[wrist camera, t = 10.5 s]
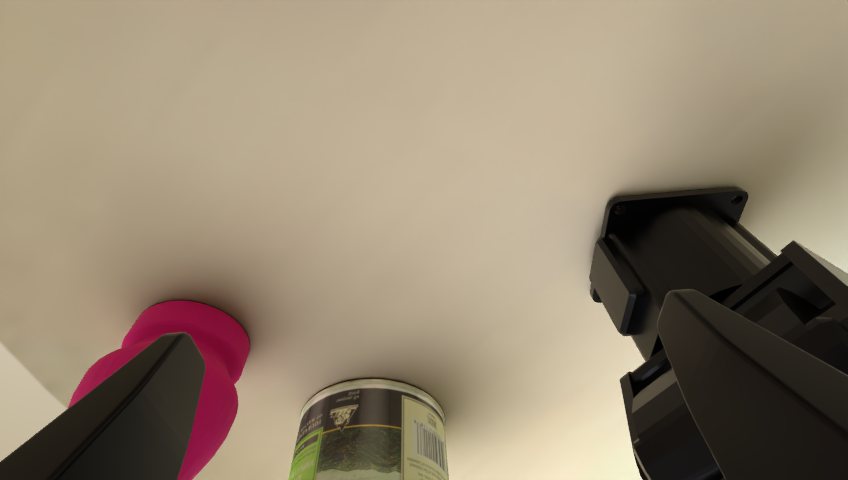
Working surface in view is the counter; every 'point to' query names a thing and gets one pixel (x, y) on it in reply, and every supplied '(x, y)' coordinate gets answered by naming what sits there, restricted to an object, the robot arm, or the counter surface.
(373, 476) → the coffee can
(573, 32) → the counter surface
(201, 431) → the pepper mill
